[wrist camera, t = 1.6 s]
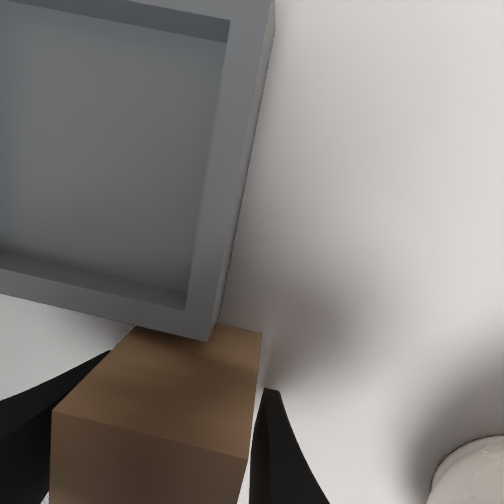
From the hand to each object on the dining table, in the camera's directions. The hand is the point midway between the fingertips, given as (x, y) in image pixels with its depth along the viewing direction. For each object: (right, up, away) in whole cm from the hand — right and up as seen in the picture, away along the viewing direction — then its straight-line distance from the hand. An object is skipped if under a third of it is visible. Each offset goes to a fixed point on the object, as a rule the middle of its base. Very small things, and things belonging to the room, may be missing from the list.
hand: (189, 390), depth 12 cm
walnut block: (0, 0, +1) cm, 2 cm away
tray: (-3, +9, -1) cm, 10 cm away
